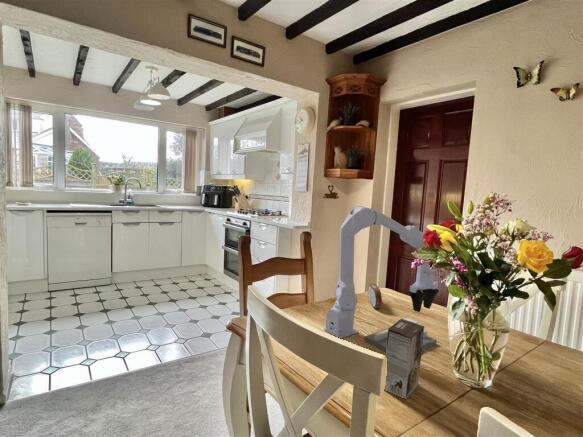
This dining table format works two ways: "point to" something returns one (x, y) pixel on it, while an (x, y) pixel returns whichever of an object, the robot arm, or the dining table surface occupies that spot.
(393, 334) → the coffee box
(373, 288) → the clock
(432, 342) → the switch plate
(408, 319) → the switch tab
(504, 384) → the dining table surface
